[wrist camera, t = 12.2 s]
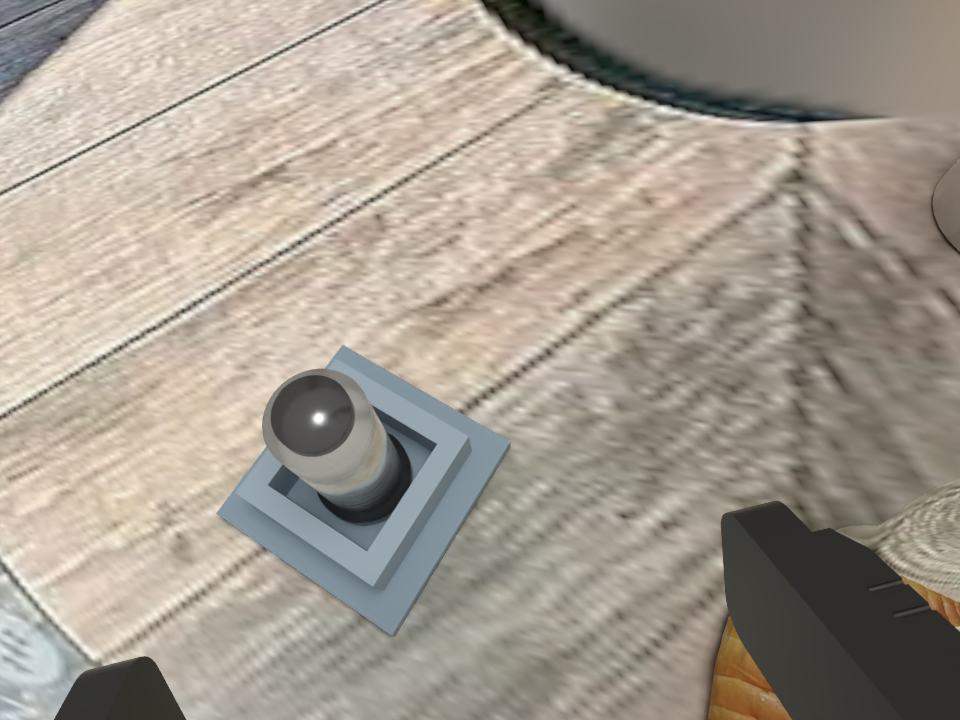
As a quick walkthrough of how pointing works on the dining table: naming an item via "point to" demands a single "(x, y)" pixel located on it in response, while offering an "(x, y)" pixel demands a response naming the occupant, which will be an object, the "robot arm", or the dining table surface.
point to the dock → (411, 527)
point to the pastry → (741, 685)
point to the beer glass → (922, 546)
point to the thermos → (337, 445)
